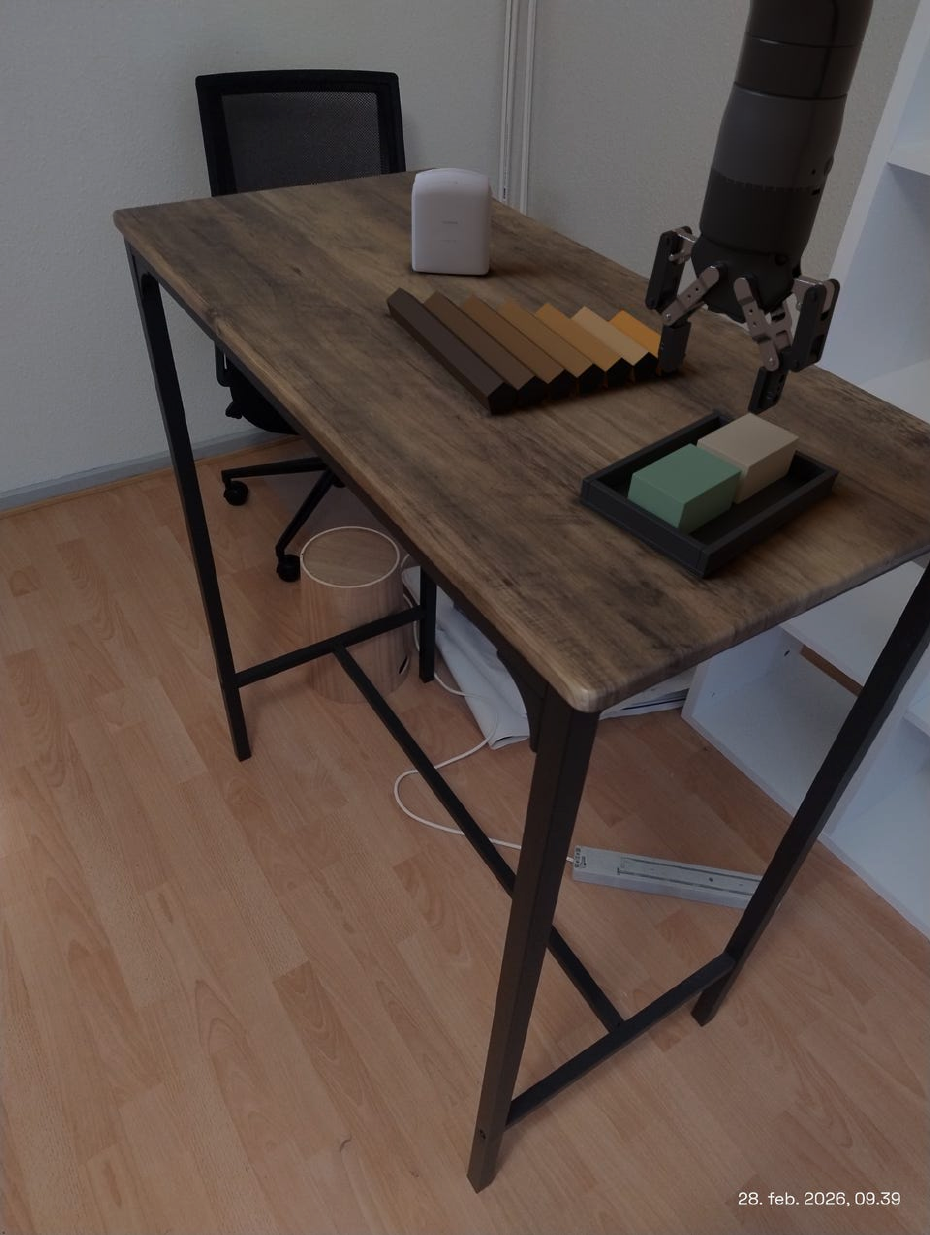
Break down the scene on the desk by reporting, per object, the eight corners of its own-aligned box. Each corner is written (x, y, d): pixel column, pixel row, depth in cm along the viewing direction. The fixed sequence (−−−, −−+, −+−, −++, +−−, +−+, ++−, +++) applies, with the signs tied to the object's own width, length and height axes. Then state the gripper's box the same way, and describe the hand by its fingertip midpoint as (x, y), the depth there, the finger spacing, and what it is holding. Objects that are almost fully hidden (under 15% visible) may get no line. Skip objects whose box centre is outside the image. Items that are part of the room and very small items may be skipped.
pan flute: (386, 317, 104) (485, 415, 88) (385, 289, 101) (487, 384, 85) (562, 287, 113) (681, 372, 97) (565, 261, 110) (688, 343, 95)
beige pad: (787, 474, 81) (800, 437, 79) (737, 504, 77) (749, 466, 75) (738, 449, 84) (749, 412, 82) (688, 477, 80) (697, 439, 77)
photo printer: (409, 274, 114) (410, 172, 105) (412, 261, 117) (413, 161, 109) (488, 279, 114) (494, 177, 105) (488, 266, 117) (495, 167, 109)
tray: (830, 493, 80) (839, 470, 78) (702, 579, 70) (709, 554, 68) (710, 432, 87) (716, 410, 86) (578, 501, 77) (582, 478, 76)
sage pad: (730, 508, 77) (742, 470, 74) (674, 543, 73) (684, 503, 70) (680, 480, 80) (690, 442, 77) (624, 512, 76) (632, 473, 73)
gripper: (650, 148, 59) (613, 369, 70) (836, 204, 52) (762, 442, 63) (716, 132, 63) (671, 344, 74) (898, 183, 56) (818, 410, 66)
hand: (713, 389), depth 68 cm, fingers open, 8 cm apart
